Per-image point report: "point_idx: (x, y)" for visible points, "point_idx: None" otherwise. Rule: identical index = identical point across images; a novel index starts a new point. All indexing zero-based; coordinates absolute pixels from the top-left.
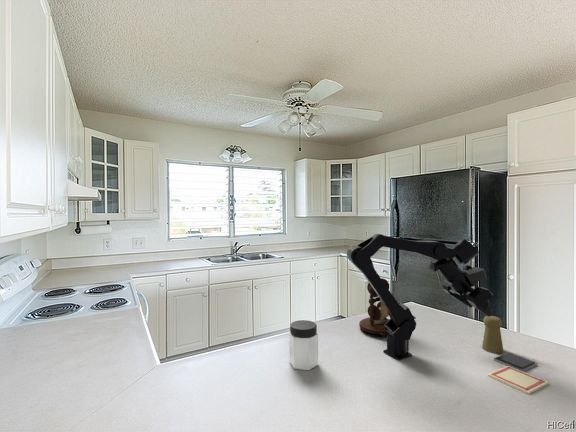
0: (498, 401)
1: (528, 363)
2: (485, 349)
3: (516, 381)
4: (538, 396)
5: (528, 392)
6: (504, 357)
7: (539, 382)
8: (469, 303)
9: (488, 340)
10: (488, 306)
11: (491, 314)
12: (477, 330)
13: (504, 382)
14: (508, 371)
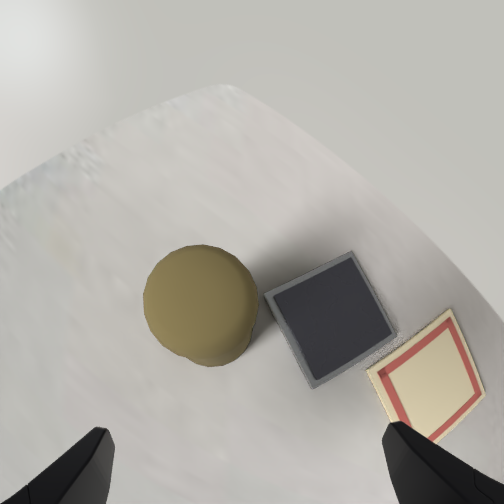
0: (490, 471)
1: (365, 289)
2: (219, 365)
3: (450, 399)
4: (488, 376)
5: (484, 395)
6: (319, 347)
7: (456, 337)
8: (101, 473)
9: (227, 355)
10: (475, 475)
11: (403, 423)
12: (35, 250)
13: (447, 432)
14: (404, 391)
